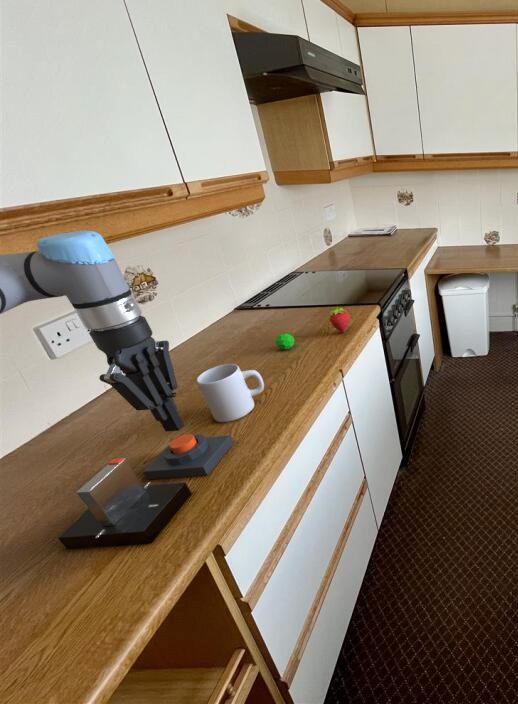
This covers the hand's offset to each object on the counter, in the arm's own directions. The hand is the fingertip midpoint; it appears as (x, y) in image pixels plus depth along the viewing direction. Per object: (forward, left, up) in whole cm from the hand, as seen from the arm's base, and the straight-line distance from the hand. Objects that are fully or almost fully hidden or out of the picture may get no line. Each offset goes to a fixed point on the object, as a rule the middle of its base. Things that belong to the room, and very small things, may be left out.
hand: (175, 428), depth 81 cm
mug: (+1, +17, -9) cm, 19 cm away
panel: (-1, -14, -9) cm, 16 cm away
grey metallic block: (-1, -14, -6) cm, 15 cm away
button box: (0, 0, -9) cm, 9 cm away
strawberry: (+13, +55, -9) cm, 57 cm away
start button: (0, 0, -5) cm, 5 cm away
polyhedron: (-2, +47, -9) cm, 48 cm away
